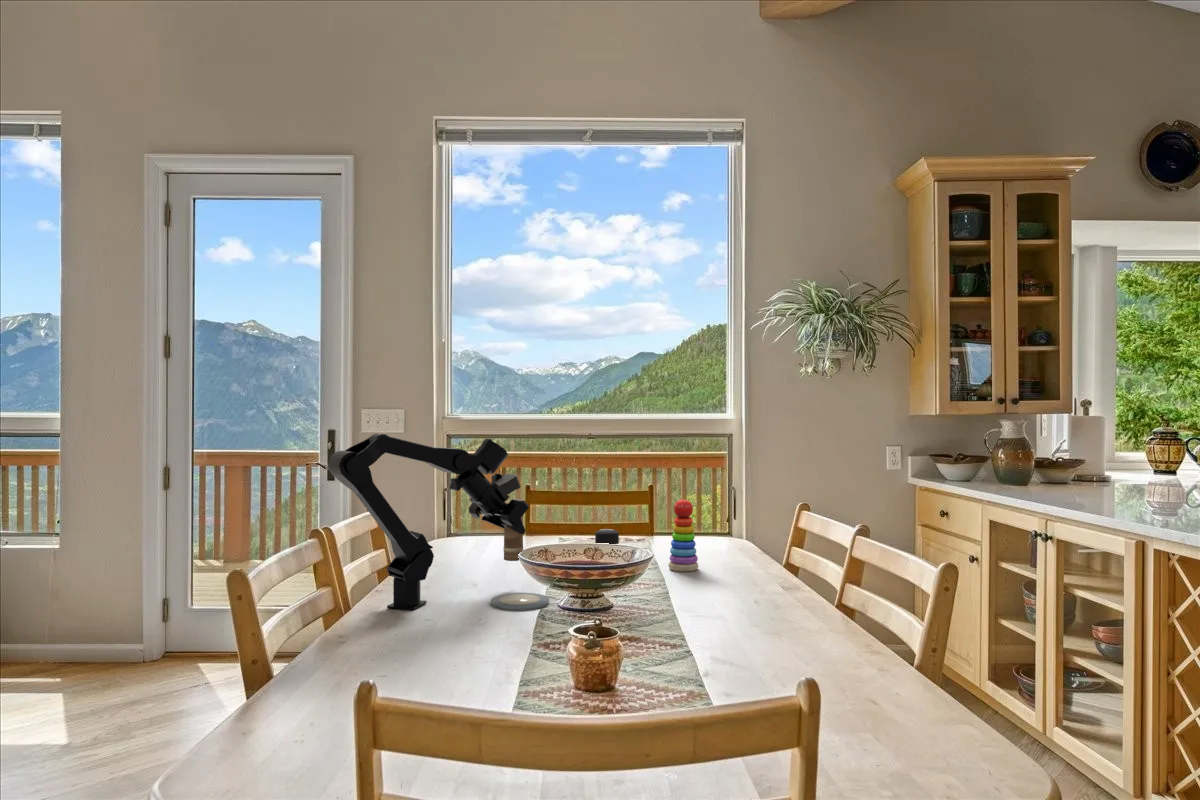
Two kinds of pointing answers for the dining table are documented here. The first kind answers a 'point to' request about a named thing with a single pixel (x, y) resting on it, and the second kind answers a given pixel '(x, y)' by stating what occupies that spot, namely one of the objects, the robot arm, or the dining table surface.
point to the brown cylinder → (512, 544)
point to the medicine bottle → (607, 536)
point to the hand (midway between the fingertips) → (518, 531)
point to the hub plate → (519, 601)
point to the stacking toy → (683, 539)
